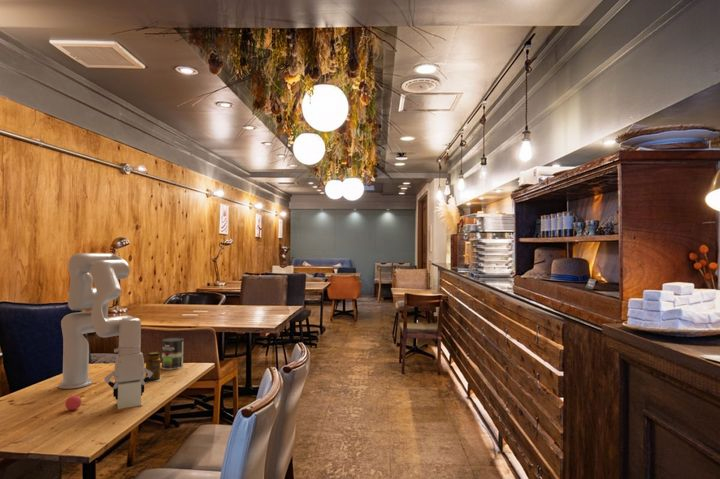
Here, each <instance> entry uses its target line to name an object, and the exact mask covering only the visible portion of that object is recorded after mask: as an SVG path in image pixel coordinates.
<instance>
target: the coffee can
mask: <svg viewBox="0 0 720 479" xmlns="http://www.w3.org/2000/svg"><path fill="white" fill-rule="evenodd" d="M184 340H185V339H184V337H183V338H182V337H168V338H163V339H162V340H161V366H160V369H162V370H166V371H167V370H169V371H170V370H171V371H172V370H178V369H181V368H183V367H184Z"/></svg>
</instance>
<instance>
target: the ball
mask: <svg viewBox="0 0 720 479" xmlns="http://www.w3.org/2000/svg"><path fill="white" fill-rule="evenodd" d="M64 404H65V407H66V409H67V410H69V411H75V410H77V409H79V407H81V405H82V399H81V397H80V396H78V395H71V396H69V397H68V398H67V399H66V401H65V403H64Z"/></svg>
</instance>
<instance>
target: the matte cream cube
mask: <svg viewBox="0 0 720 479" xmlns="http://www.w3.org/2000/svg"><path fill="white" fill-rule="evenodd" d="M117 387H118V399H116V405H117V406H116V408H117V410H121V409H129V408H134V407H140V406H142V396H141V381H139V380H137V381H129V382H121V383H118V386H117Z"/></svg>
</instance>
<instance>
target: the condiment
mask: <svg viewBox="0 0 720 479" xmlns="http://www.w3.org/2000/svg"><path fill="white" fill-rule="evenodd" d="M160 355H161V353H160V352H159V351H151V352H147V354H146V356H147V357H146V360H145V368H146V369H148V370H150V371H152V372H153V374H152V376H151V377H150V378H149V380H148V381H147V382H146V383H152V382H153V383H154V382H162V376H161V358H160V357H161V356H160ZM147 375H148V374H147V373H145V377H146V376H147Z"/></svg>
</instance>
